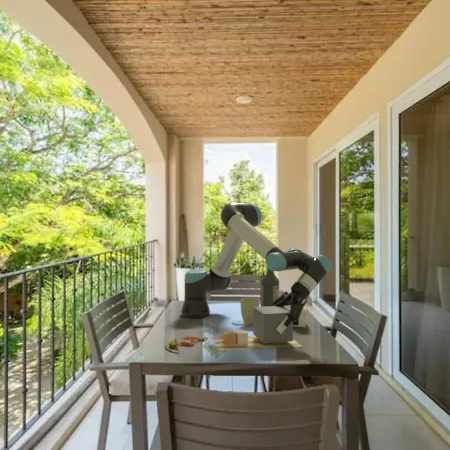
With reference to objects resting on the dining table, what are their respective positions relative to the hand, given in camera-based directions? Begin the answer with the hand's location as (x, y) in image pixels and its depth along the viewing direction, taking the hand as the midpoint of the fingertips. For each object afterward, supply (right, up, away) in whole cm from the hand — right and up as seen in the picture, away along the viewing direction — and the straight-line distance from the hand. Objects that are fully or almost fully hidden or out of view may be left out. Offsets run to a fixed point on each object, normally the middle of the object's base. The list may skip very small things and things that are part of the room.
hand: (270, 327), depth 150 cm
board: (-6, -7, -1) cm, 9 cm away
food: (-32, -7, -2) cm, 33 cm away
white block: (-11, -6, -2) cm, 13 cm away
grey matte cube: (+1, -4, +1) cm, 4 cm away
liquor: (+7, -7, +61) cm, 62 cm away
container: (+17, -8, +31) cm, 36 cm away
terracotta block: (-16, -5, -3) cm, 17 cm away
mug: (-7, -7, +31) cm, 32 cm away
